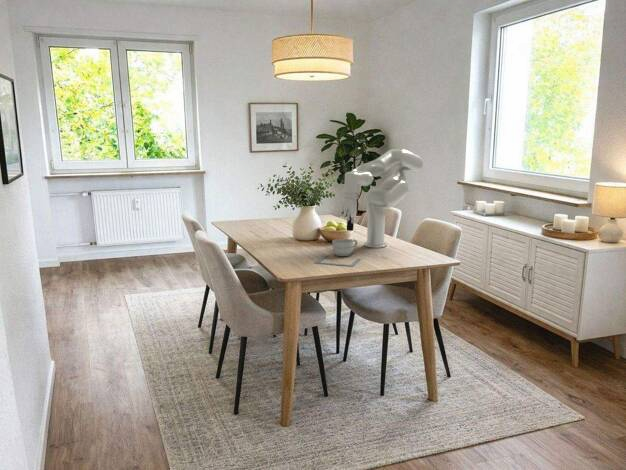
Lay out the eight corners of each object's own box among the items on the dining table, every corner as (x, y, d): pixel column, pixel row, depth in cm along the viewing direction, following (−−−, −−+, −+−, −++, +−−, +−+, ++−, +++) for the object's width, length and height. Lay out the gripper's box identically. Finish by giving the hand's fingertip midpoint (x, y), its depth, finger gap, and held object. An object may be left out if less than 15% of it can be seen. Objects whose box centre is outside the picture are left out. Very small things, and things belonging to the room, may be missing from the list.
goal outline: (323, 255, 266) (323, 255, 266) (361, 259, 259) (361, 258, 259) (313, 263, 251) (313, 262, 251) (353, 266, 245) (353, 266, 245)
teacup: (336, 258, 261) (336, 242, 260) (329, 253, 271) (329, 238, 270) (361, 256, 265) (362, 241, 263) (354, 251, 275) (354, 237, 274)
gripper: (348, 194, 280) (346, 227, 283) (340, 196, 266) (339, 232, 269) (361, 194, 278) (360, 228, 281) (354, 197, 264) (353, 233, 267)
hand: (350, 230), depth 275 cm, fingers closed
